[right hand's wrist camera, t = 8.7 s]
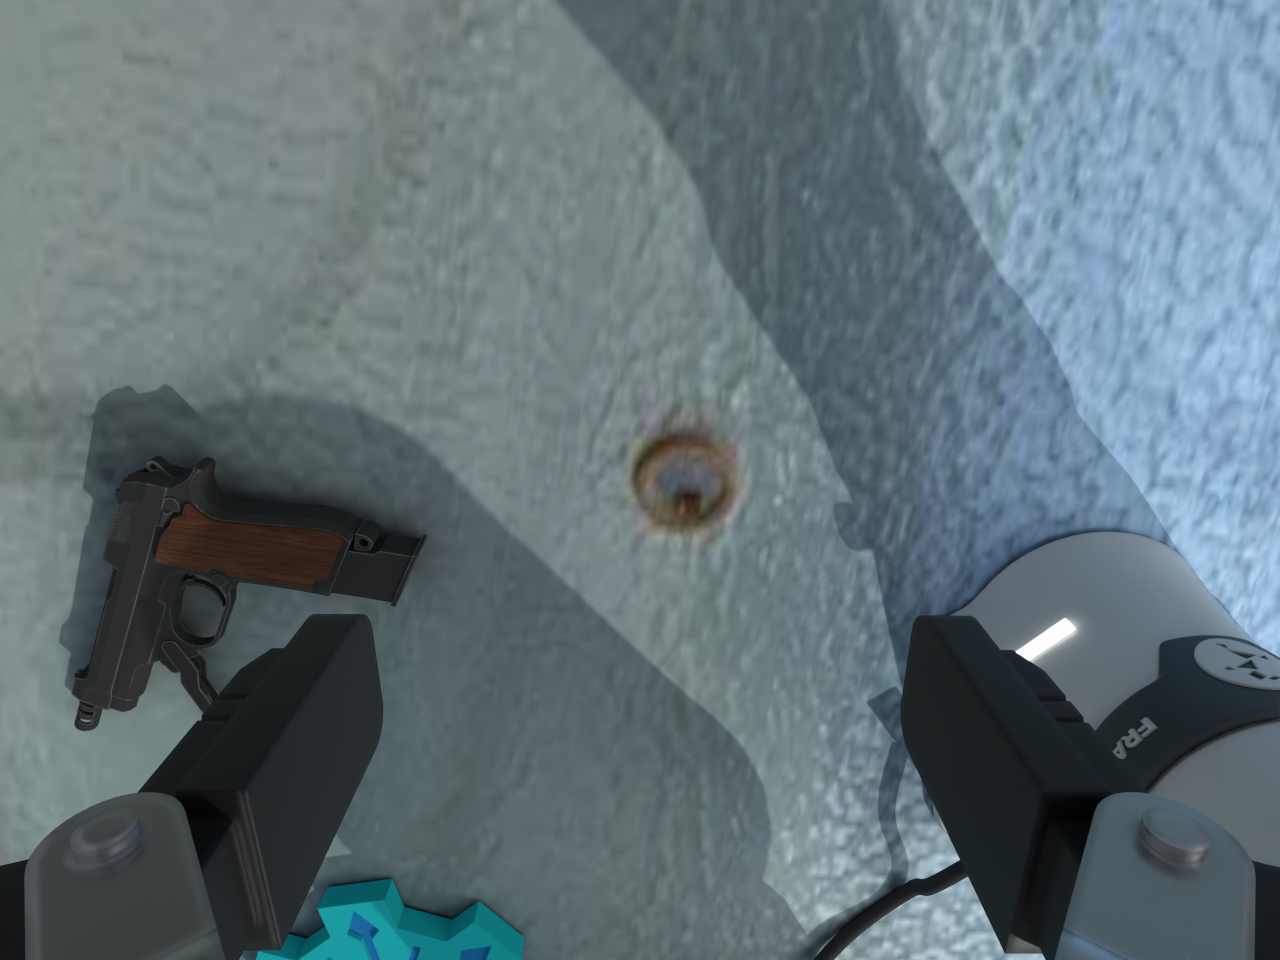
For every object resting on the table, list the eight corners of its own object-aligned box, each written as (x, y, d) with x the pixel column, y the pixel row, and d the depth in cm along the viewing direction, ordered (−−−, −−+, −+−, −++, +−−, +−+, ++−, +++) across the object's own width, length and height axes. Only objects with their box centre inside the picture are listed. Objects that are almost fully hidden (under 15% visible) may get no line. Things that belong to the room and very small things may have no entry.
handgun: (415, 561, 40) (114, 441, 36) (301, 816, 47) (45, 736, 44) (430, 528, 43) (155, 415, 40) (321, 772, 51) (84, 694, 47)
